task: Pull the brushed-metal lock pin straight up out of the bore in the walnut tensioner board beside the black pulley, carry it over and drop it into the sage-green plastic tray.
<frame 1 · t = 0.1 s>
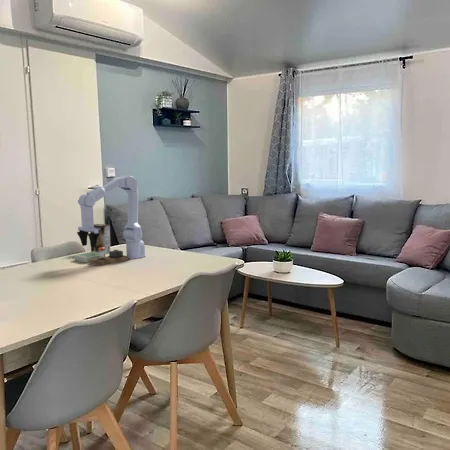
hand: (88, 246, 231), 10 cm above the table, fingers open, 7 cm apart
lock pin: (102, 263, 239), resting in tensioner board
coffee box: (101, 253, 265), on the table
tensioner board: (109, 261, 242), on the table
tray: (90, 260, 246), on the table
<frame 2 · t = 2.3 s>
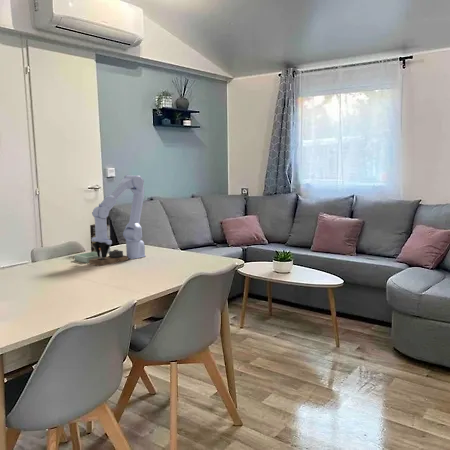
hand: (102, 256, 239), 3 cm above the table, fingers closed on lock pin, 3 cm apart
lock pin: (102, 263, 239), resting in tensioner board, touching gripper
everything else where it was.
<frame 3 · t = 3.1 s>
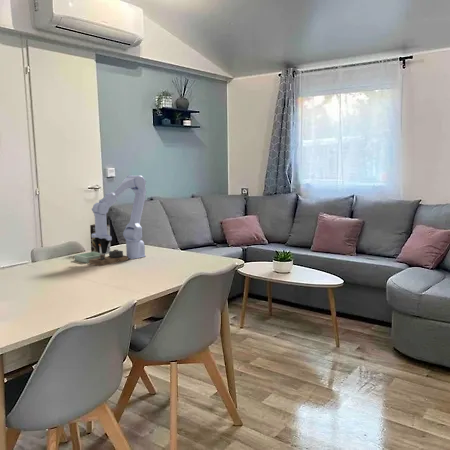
hand: (102, 252, 238), 5 cm above the table, fingers closed on lock pin, 3 cm apart
lock pin: (102, 259, 239), point 2 cm above the table, touching gripper
everything else where it was.
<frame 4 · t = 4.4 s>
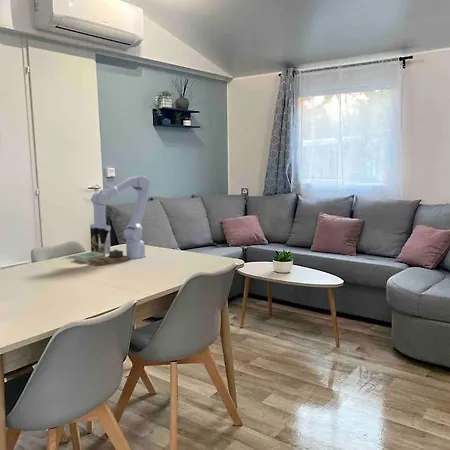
hand: (101, 243, 238), 10 cm above the table, fingers closed on lock pin, 3 cm apart
lock pin: (101, 249, 238), point 7 cm above the table, touching gripper
everything else where it was.
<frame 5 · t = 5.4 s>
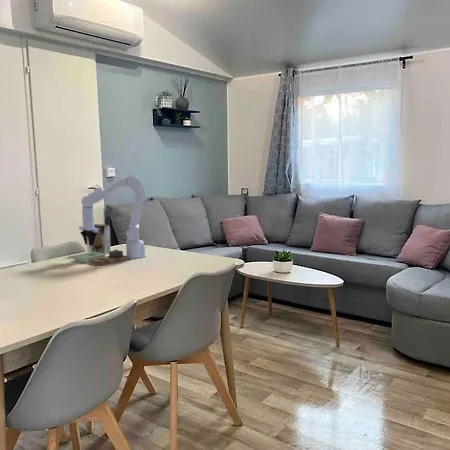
hand: (89, 244, 245), 8 cm above the table, fingers closed on lock pin, 3 cm apart
lock pin: (90, 251, 245), point 5 cm above the table, touching gripper
everything else where it was.
when the fingers open (6 cm above the table, at t = 6.5 s): lock pin drops 2 cm, resting on tray.
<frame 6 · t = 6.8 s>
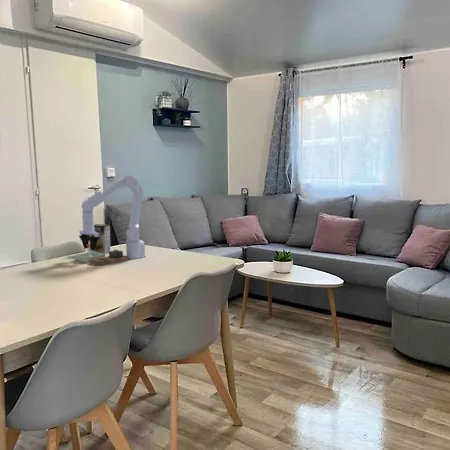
hand: (89, 249, 245), 6 cm above the table, fingers open, 6 cm apart
lock pin: (90, 259, 246), point 1 cm above the table, touching tray
everything else where it was.
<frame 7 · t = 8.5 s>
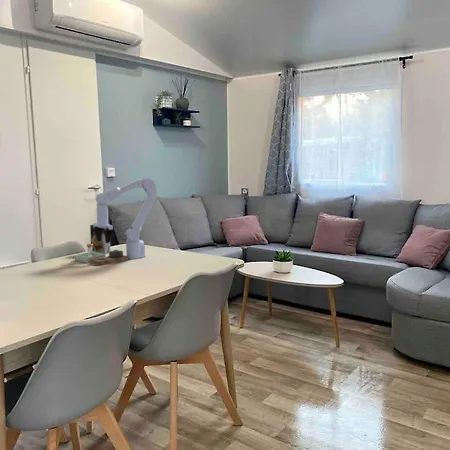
hand: (103, 241, 247), 9 cm above the table, fingers open, 7 cm apart
nothing on the table moved.
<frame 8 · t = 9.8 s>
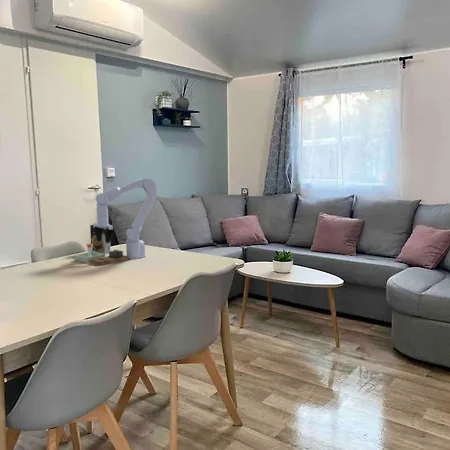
hand: (103, 241, 247), 9 cm above the table, fingers open, 7 cm apart
nothing on the table moved.
at the end: lock pin inside the target area on the tray (0.5 cm from its centre), point 0.5 cm above the tray's base; lock pin moved 10.5 cm from its start; the gripper is holding nothing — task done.
